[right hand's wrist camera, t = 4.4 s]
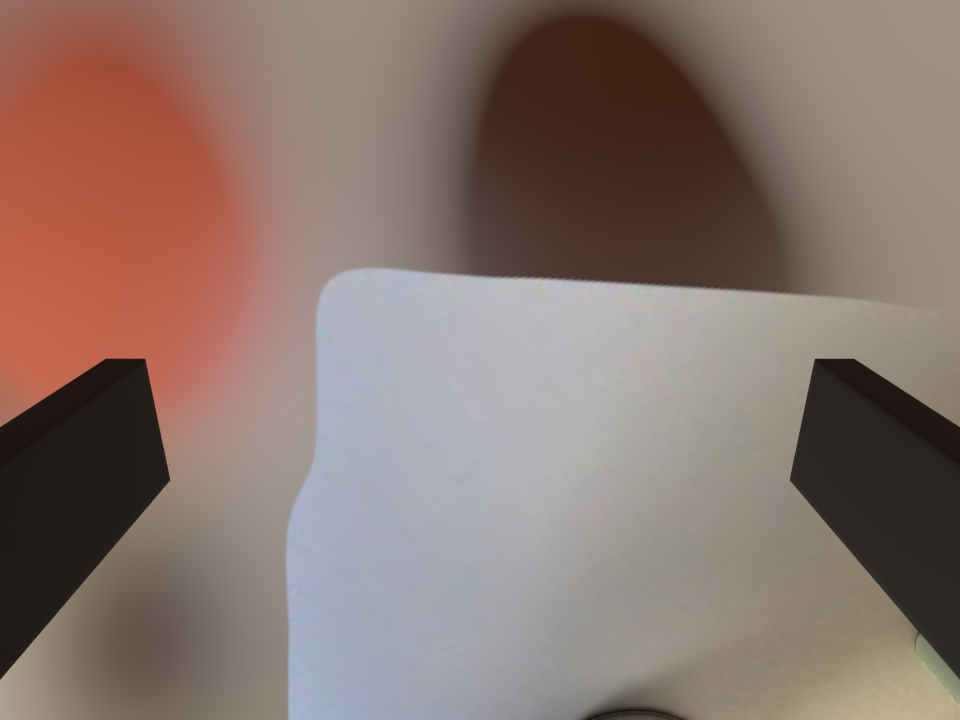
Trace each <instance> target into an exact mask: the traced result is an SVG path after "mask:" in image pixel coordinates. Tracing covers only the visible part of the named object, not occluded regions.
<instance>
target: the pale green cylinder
mask: <svg viewBox="0 0 960 720" xmlns="http://www.w3.org/2000/svg"><path fill="white" fill-rule="evenodd" d="M915 648H916V652H917V654H918V655H919V657H920V658H921V659H922V660H923V662H924V663H925V664H926V665H927V666H928V668H929V669H930V670H931V671H932V673H933V674H934V675H935V676H936V677H937V679H938V680H939V681H940V682H941V684H942V685H943V686H944V687H945V689H946V690H947V691H948V692H949V693H950V695H951V696H952V697H953V698H954V700H955V701H956V702H957V703H958V705H959V706H960V679H959V678H958V677H957V676H956V675H955V674H954V672H953V671H952V670H951V669H950V668H949V666H948V665H947V664H946V663H945V662H944V661H943V659H942V658H941V657H940V656H939V655H938V654H937V652H936V651H935V650H934V649H933V648H932V647H931V645H930V644H929V643H928V642H927V641H926V639H925V638H924V637H923V636H922V635H921V634H919V635H918V637H917V639H916V643H915Z"/></svg>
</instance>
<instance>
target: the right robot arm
mask: <svg viewBox="0 0 960 720" xmlns="http://www.w3.org/2000/svg"><path fill="white" fill-rule="evenodd" d="M169 481H170V477H169V472H168V467H167V462H166V457H165V452H164V448H163V443H162V438H161V433H160V428H159V424H158V419H157V414H156V409H155V404H154V399H153V395H152V390H151V385H150V380H149V375H148V370H147V366H146V361H145V359H105V360H103V361H102V362H100V363H99V364H97V365H96V366H94V367H93V368H91V369H90V370H88V371H86V372H85V373H83V374H82V375H80V376H79V377H77V378H76V379H74V380H72V381H71V382H69V383H68V384H66V385H65V386H63V387H62V388H60V389H59V390H57V391H56V392H54V393H52V394H51V395H49V396H48V397H46V398H45V399H43V400H42V401H40V402H39V403H37V404H35V405H34V406H32V407H31V408H29V409H28V410H26V411H25V412H23V413H22V414H20V415H18V416H17V417H15V418H14V419H12V420H11V421H9V422H8V423H6V424H4V425H3V426H1V427H0V679H1V678H2V677H3V676H4V675H5V673H6V672H7V671H8V670H9V669H10V668H11V666H12V665H13V664H14V663H15V662H16V661H17V659H18V658H19V657H20V656H21V655H22V654H23V652H24V651H25V650H26V649H27V648H28V647H29V645H30V644H31V643H32V642H33V641H34V639H35V638H36V637H37V636H38V635H39V634H40V632H41V631H42V630H43V629H44V628H45V627H46V625H47V624H48V623H49V622H50V621H51V619H52V618H53V617H54V616H55V615H56V614H57V613H58V611H59V610H60V609H61V608H62V607H63V605H64V604H65V603H66V602H67V601H68V600H69V598H70V597H71V596H72V595H73V594H74V593H75V591H76V590H77V589H78V588H79V587H80V586H81V584H82V583H83V582H84V581H85V580H86V578H87V577H88V576H89V575H90V574H91V573H92V571H93V570H94V569H95V568H96V567H97V566H98V564H99V563H100V562H101V561H102V560H103V559H104V557H105V556H106V555H107V554H108V553H109V551H110V550H111V549H112V548H113V547H114V546H115V544H116V543H117V542H118V541H119V540H120V539H121V537H122V536H123V535H124V534H125V533H126V532H127V530H128V529H129V528H130V527H131V526H132V524H133V523H134V522H135V521H136V520H137V519H138V517H139V516H140V515H141V514H142V513H143V512H144V510H145V509H146V508H147V507H148V506H149V505H150V503H151V502H152V501H153V500H154V499H155V498H156V496H157V495H158V494H159V493H160V492H161V490H162V489H163V488H164V487H165V486H166V485H167V483H168V482H169ZM790 481H791V482H792V483H793V485H794V486H795V487H796V488H797V489H798V490H799V492H800V493H801V494H802V495H803V496H804V498H805V499H806V500H807V501H808V502H809V503H810V505H811V506H812V507H813V508H814V509H815V510H816V512H817V513H818V514H819V515H820V516H821V517H822V519H823V520H824V521H825V522H826V523H827V525H828V526H829V527H830V528H831V529H832V530H833V532H834V533H835V534H836V535H837V536H838V537H839V539H840V540H841V541H842V542H843V543H844V544H845V546H846V547H847V548H848V549H849V550H850V551H851V553H852V554H853V555H854V556H855V557H856V559H857V560H858V561H859V562H860V563H861V564H862V566H863V567H864V568H865V569H866V570H867V571H868V573H869V574H870V575H871V576H872V577H873V578H874V580H875V581H876V582H877V583H878V584H879V586H880V587H881V588H882V589H883V590H884V591H885V593H886V594H887V595H888V596H889V597H890V598H891V600H892V601H893V602H894V603H895V604H896V605H897V607H898V608H899V609H900V610H901V611H902V613H903V614H904V615H905V616H906V617H907V618H908V620H909V621H910V622H911V623H912V624H913V625H914V627H915V628H916V629H917V630H918V631H919V632H920V634H921V635H922V636H923V637H924V638H925V639H926V641H927V642H928V643H929V644H930V645H931V647H932V648H933V649H934V650H935V651H936V652H937V654H938V655H939V656H940V657H941V658H942V659H943V661H944V662H945V663H946V664H947V665H948V666H949V668H950V669H951V670H952V671H953V672H954V674H955V675H956V676H957V677H958V678H959V679H960V427H959V426H957V425H956V424H954V423H952V422H951V421H949V420H948V419H946V418H945V417H943V416H942V415H940V414H939V413H937V412H935V411H934V410H932V409H931V408H929V407H928V406H926V405H925V404H923V403H922V402H920V401H918V400H917V399H915V398H914V397H912V396H911V395H909V394H908V393H906V392H905V391H903V390H901V389H900V388H898V387H897V386H895V385H894V384H892V383H891V382H889V381H888V380H886V379H884V378H883V377H881V376H880V375H878V374H877V373H875V372H874V371H872V370H871V369H869V368H867V367H866V366H864V365H863V364H861V363H860V362H858V361H857V360H855V359H815V361H814V366H813V370H812V375H811V380H810V385H809V390H808V395H807V399H806V404H805V409H804V414H803V419H802V424H801V428H800V433H799V438H798V443H797V448H796V452H795V457H794V462H793V467H792V472H791V477H790ZM591 720H680V719H677V718H675V717H672V716H669V715H665V714H662V713H656V712H649V711H623V712H616V713H610V714H606V715H602V716H599V717H596V718H593V719H591Z"/></svg>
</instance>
